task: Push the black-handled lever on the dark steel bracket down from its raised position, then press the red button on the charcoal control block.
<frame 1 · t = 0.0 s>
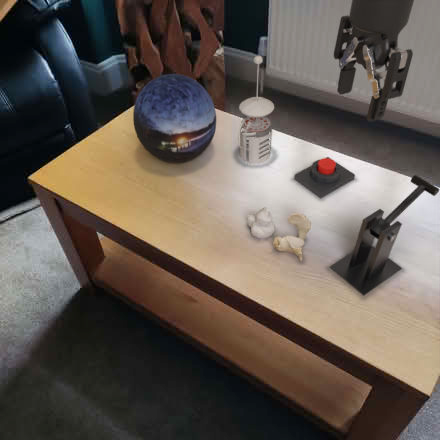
hand: (358, 105, 66), 31 cm above the table, tool pointing down, fingers open, 8 cm apart
bracket: (364, 271, 87), on the table
button: (326, 166, 100), point 4 cm above the table, slide at 0.1 cm
decorative sphere: (179, 156, 112), on the table
french press: (253, 159, 110), on the table
white lumpy piece: (260, 233, 94), on the table
lever: (400, 208, 77), point 14 cm above the table, hinge at 25.0°
control block: (323, 182, 104), on the table
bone: (292, 253, 90), on the table
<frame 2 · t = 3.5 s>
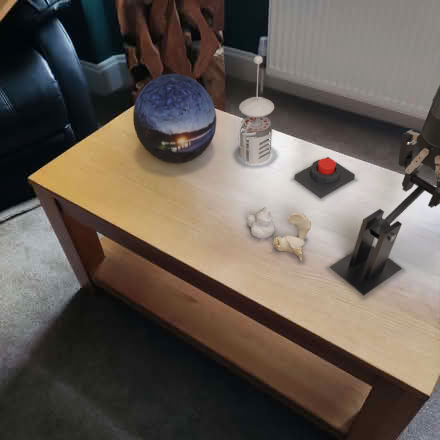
hand: (419, 196, 79), 14 cm above the table, tool pointing down, fingers closed on lever, 5 cm apart
lever: (400, 208, 77), point 14 cm above the table, hinge at 25.0°, touching gripper
everything else where it was.
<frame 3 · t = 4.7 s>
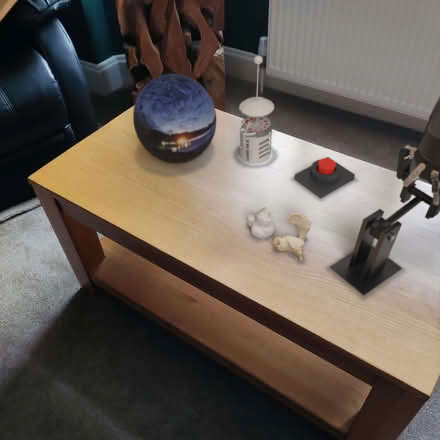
hand: (416, 208, 82), 11 cm above the table, tool pointing down, fingers closed on lever, 5 cm apart
lever: (400, 213, 78), point 13 cm above the table, hinge at 8.8°, touching gripper
everything else where it was.
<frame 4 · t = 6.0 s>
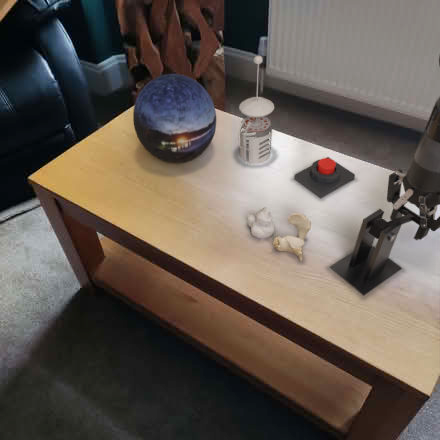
hand: (406, 229, 86), 5 cm above the table, tool pointing down, fingers closed on lever, 5 cm apart
lever: (395, 222, 80), point 11 cm above the table, hinge at -16.6°, touching gripper
everything else where it was.
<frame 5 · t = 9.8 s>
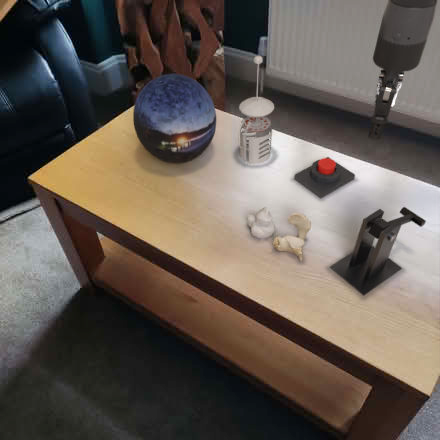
hand: (377, 125, 81), 21 cm above the table, tool pointing down, fingers open, 8 cm apart
lever: (395, 222, 80), point 10 cm above the table, hinge at -17.0°
everything else where it was.
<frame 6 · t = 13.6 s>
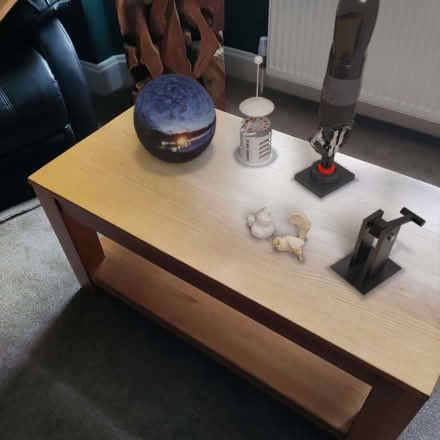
hand: (326, 166, 100), 5 cm above the table, tool pointing down, fingers closed
button: (325, 169, 101), point 4 cm above the table, slide at -0.7 cm, touching gripper
everything else where it was.
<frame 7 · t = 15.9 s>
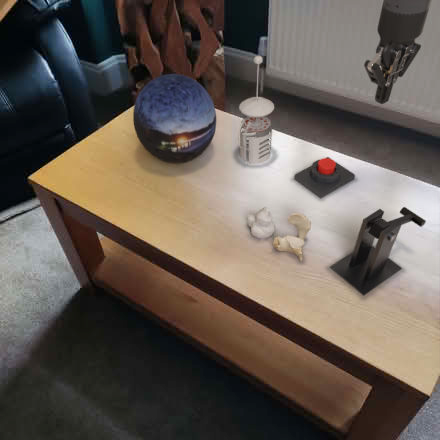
hand: (381, 101, 86), 21 cm above the table, tool pointing down, fingers closed
button: (326, 166, 100), point 4 cm above the table, slide at 0.1 cm
everything else where it was.
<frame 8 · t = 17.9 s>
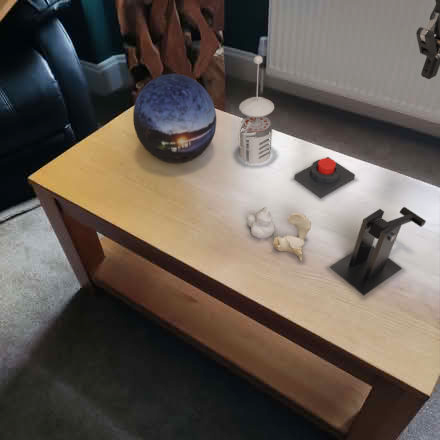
hand: (428, 76, 79), 27 cm above the table, tool pointing down, fingers closed
nothing on the table moved.
at the end: lever at -17° (first picture: +25°); button pushed in 1.1 cm at the most during the clip, back to where it started at the end; button slide at 0.1 cm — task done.
